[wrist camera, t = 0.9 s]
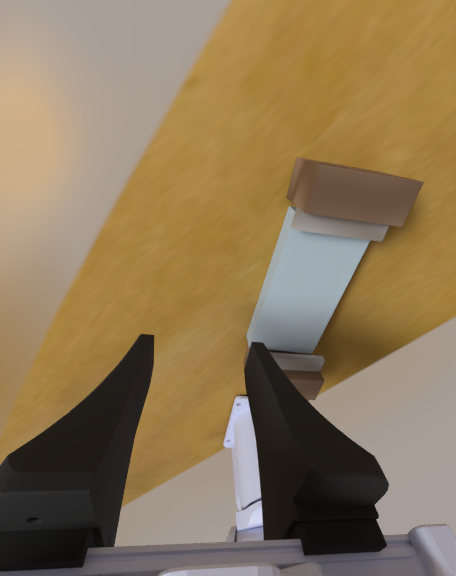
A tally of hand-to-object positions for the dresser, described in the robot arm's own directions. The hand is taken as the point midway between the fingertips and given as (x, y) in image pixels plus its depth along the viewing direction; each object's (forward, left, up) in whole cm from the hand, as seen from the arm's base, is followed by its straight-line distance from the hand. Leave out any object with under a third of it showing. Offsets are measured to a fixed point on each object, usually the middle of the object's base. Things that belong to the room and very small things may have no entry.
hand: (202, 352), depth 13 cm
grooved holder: (0, -8, -8) cm, 12 cm away
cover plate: (0, -8, -9) cm, 12 cm away
